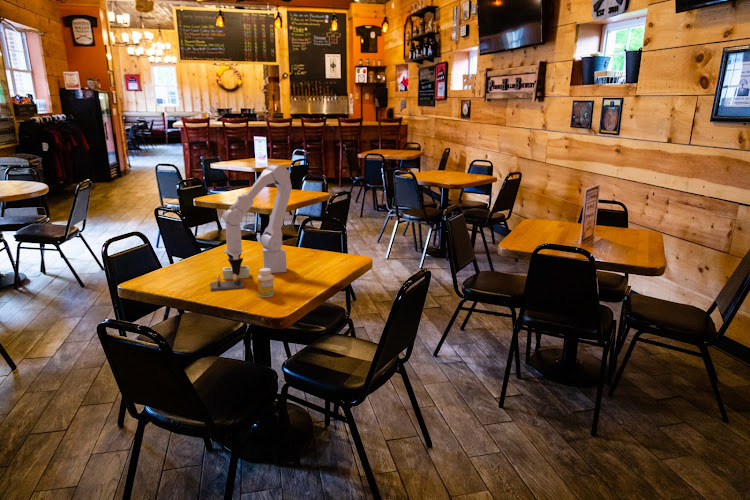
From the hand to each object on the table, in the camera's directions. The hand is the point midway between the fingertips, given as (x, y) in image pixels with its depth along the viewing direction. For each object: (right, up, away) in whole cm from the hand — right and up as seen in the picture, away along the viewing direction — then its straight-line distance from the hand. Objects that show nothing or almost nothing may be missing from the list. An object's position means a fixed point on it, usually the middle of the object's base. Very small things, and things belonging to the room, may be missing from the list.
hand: (235, 272), depth 203 cm
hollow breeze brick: (0, -2, +1) cm, 2 cm away
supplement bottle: (+17, -8, -21) cm, 28 cm away
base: (0, -5, -12) cm, 13 cm away
